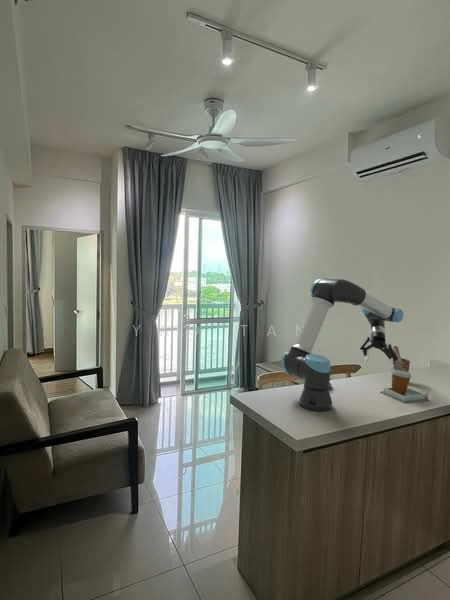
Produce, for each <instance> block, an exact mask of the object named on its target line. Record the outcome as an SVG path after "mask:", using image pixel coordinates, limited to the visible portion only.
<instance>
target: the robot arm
mask: <svg viewBox="0 0 450 600" xmlns="http://www.w3.org/2000/svg"><path fill="white" fill-rule="evenodd" d="M310 296H311V301H312V305H311V307H310V309H309V311H308V314H307V315H306V319H305V321H304V323H303V326H302V328H301V331H300V333H299V336H298V337H297V341H296V342H295V344H294V345H291V347H290V349H289V350H287V351H285V352H284V353H283V354H282V356H281V359H280V366H281V369H282V371H283V372H284V373H285V374H288V375H289V376H291V377H295V378H297V379H300V380H303V388H302V389H303V390H302V391H301V394H300V397H299V402H298V405H299V406H300V407H302V408H303V409H305V410H309V411H313V412H328V411H330V410H332V408H333V401H332V396H331V393H330V387H329V383H331V381H330V380H331V360H329V358H327V357H326V356H324V355H320V354H316V353H313V349H314V346H315V343H316V342H317V339H318V336H319V334H320V332H321V330H322V326H323V323H324V321H325V319H326V317H327V314H328V312H329V310H330V309H331V308H333V307H334V306H335V303H344V304H351V305H353V306H359V307H361V311H362V312H363V315H364V317H365V318H366V320H367V321H368V323H369V324H370V337H369V336H367V337H366V339H365V342H364V343H363V344H362V345H361V346H360V348H359V350H360V351H362V353H363V356H364V362H365V363H367V362H368V361H369V360H370V358H369V357H370V355H369V350H371V349H373V348H375V349H377V350H380V351H381V352H383V354H384V355H385V356H387V358H388V359H389V360H388V362H389V363H388V364H389V365H388V366H389V367H388V368H389V371H393V369H394V364H395V361H396V360H397V359H398V357H397V356H396V354H395V352H394V350H393V346H392V344H391V343H390V344H387V343H386V331H385V330H386V327H385V323H386V322H392V323H400V322H402V320H403V318H404V311H403V310H402V309H400V308H397V307H396V308H395V307H393V306H391V305H388V304H387V303H385V302H383V301H382V300H379V299H378V298H377V297H375V296H373V295H371V294H370V293H368V292H366V289H364V288H363V287H361V286H360V285H358V284H356V283H354V282H351V281H349V280H346V279H344V278H343V279H342V278H327V277H324V278H319V279H316V280H315V281H314V282H313V283H312V285H311V287H310ZM368 343H370V344H369V345H367V344H368ZM366 345H367V346H366Z"/></svg>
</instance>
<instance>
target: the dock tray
mask: <svg viewBox="0 0 450 600" xmlns="http://www.w3.org/2000/svg"><path fill="white" fill-rule="evenodd" d="M380 394H383V395H385V396H387V397H389V398H392V399H394V400H396V401H398V402H401V403H402V404H409V403H417V402H424V401H425V402H426V401H427V400H428V401H429V400H430V399H429V390H425V393H423V392H421V391H418V390H416V389H413V388H410V387H407V390H406V393H405V396H403V395H401V394H398V393H396V392H394V391H392V386H391V387H383V391H380Z"/></svg>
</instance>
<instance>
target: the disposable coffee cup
mask: <svg viewBox="0 0 450 600" xmlns="http://www.w3.org/2000/svg"><path fill="white" fill-rule="evenodd" d="M412 377H413V376H412V373H411V372H409V371H408V372H406V371H402V370H397V369H394V368H393V369H392V370H391V387H392V391H394V392H396V393H398V394H401V395H403V396H405V393H406V390H407V387H408V386H409V384H410V381H411V378H412ZM408 388H409V387H408Z"/></svg>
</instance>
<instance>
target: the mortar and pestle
mask: <svg viewBox="0 0 450 600" xmlns="http://www.w3.org/2000/svg"><path fill="white" fill-rule="evenodd" d="M392 349H393V351H394V352H395V354H396V356H397V357H398V359H397V360H396V361H395V364H394V365H393V366H394V368H393V369H397V370H402V371H406V372H409V371H410V363H411V360H410V359H408V358H407V359H406V358H402V357H401V354H400V351H399V347H398V346H397V345H395V346H392Z"/></svg>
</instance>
